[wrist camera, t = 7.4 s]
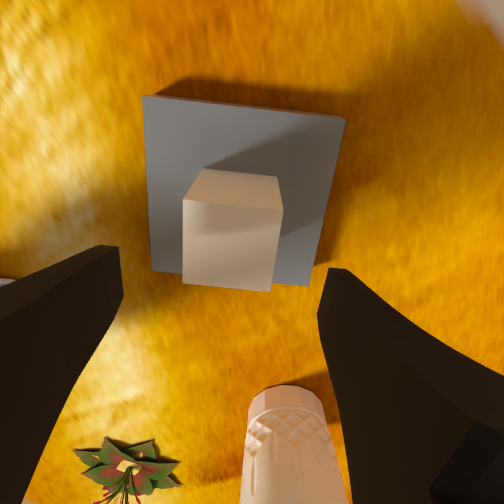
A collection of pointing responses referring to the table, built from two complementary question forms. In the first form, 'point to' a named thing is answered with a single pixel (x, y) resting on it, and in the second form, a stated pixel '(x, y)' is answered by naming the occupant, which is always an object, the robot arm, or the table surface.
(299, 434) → the white cup
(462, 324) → the table surface
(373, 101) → the table surface
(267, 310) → the table surface
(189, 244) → the cream block
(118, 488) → the lily flower
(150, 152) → the slate tile
